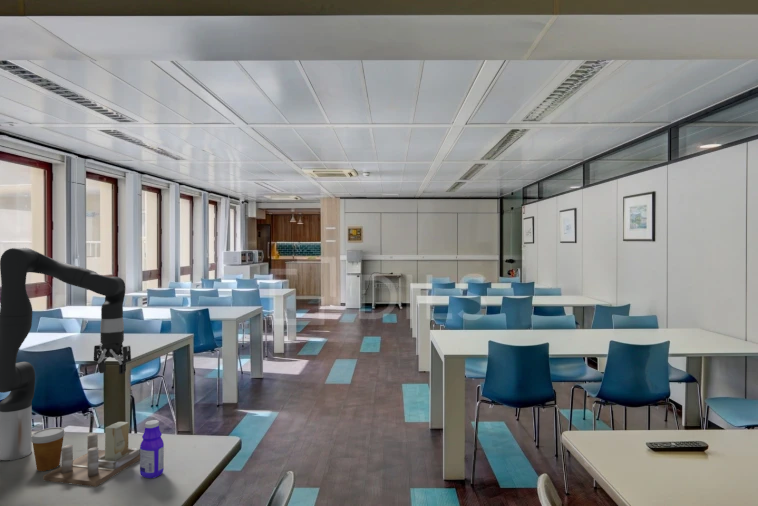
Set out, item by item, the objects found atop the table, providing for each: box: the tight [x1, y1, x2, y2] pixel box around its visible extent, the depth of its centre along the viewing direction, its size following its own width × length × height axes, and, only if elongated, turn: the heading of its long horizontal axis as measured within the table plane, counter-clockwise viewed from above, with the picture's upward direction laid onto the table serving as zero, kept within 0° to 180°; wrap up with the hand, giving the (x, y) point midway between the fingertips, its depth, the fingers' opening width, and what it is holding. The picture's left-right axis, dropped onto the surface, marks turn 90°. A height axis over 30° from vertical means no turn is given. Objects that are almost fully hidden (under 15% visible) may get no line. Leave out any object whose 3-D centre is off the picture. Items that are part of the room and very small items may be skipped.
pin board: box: [42, 432, 140, 487], centre depth 151 cm, size 20×20×10 cm
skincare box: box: [104, 421, 130, 461], centre depth 154 cm, size 6×4×12 cm
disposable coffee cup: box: [31, 426, 66, 472], centre depth 153 cm, size 10×10×12 cm
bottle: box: [139, 419, 165, 479], centre depth 147 cm, size 7×6×17 cm
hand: (112, 373), depth 168 cm, fingers open, 8 cm apart
